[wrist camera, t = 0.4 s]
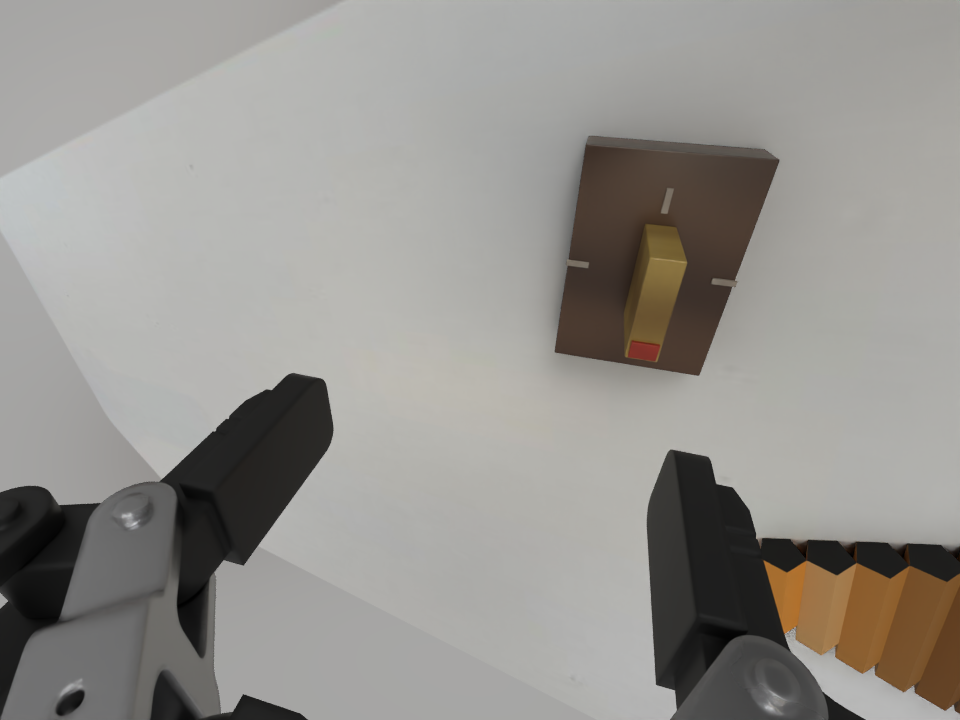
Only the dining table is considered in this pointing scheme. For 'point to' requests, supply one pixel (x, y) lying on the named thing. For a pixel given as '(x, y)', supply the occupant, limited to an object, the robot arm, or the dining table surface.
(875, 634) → the pan flute
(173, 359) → the dining table surface
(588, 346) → the panel
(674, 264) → the lock knob
